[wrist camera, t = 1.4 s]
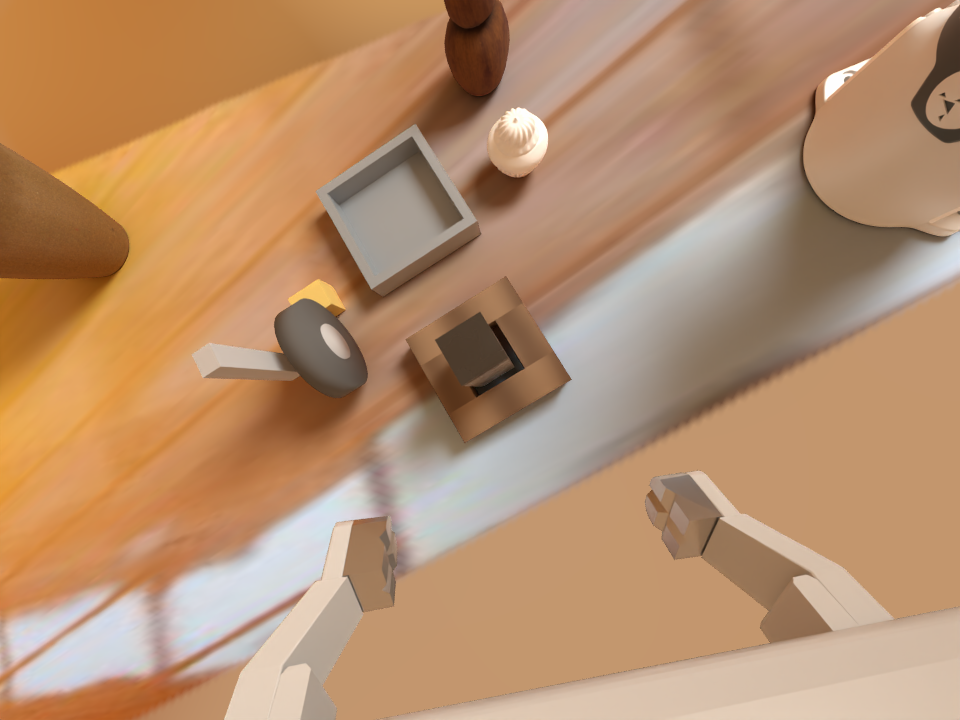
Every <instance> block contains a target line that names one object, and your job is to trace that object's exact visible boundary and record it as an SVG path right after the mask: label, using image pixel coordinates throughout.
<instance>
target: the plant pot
mask: <svg viewBox="0 0 960 720" xmlns="http://www.w3.org/2000/svg"><path fill="white" fill-rule="evenodd" d="M128 250H129V241H128V236H127V234H126V232H125V230H124V229H123V227H122V226H121V225H120V224H118V223H117V222H116V221H115V220H113V219H112V218H111V217H110V216H108V215H107V214H106V213H105V212H103V211H102V210H101V209H99V208H98V207H97V206H95V205H94V204H93V203H91V202H90V201H89V200H87V199H86V198H84V197H83V196H82V195H80V194H79V193H77V192H76V191H74V190H73V189H72V188H70V187H69V186H67V185H66V184H64V183H63V182H61V181H60V180H58V179H57V178H55V177H54V176H52V175H51V174H49V173H48V172H46V171H44V170H43V169H41V168H40V167H38V166H37V165H35V164H33V163H32V162H30V161H29V160H27V159H25V158H24V157H22V156H21V155H19V154H17V153H16V152H14V151H13V150H11V149H9V148H7V147H6V146H4V145H2V144H1V143H0V278H18V279H72V278H93V277H106V276H109V275H111V274H113V273H115V272H116V271H117V270H118V269H120V267H121V266H122V265H123V263H124V262H125V260H126V258H127V254H128Z"/></svg>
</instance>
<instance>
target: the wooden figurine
mask: <svg viewBox="0 0 960 720" xmlns="http://www.w3.org/2000/svg"><path fill="white" fill-rule="evenodd" d="M444 2H445V6H446V9H447V12H448V15H449V17H450V19H449V21H448V24H447V29H446V35H445V53H446V57H447V61H448V64H449V67H450V69H451V72H452V74H453V76H454V78H455V80H456V81H457V82H458V84H459V85H460V86H461V87H462V88H463V89H464V90H466V91H467V92H468V93H469V94H472V95H474V96H483V95H486V94H488V93H490V92H492V91H493V90H494V89H495V88H496V87H497V86H498V84H499V83H500V81H501V79H502V76H503V73H504V70H505V67H506V61H507V56H508V50H509V41H510V39H509V27H508V21H507V18H506V15H505V12H504V9H503V6H502V3H501V2H500V1H499V0H444Z"/></svg>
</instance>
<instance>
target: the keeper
mask: <svg viewBox="0 0 960 720" xmlns="http://www.w3.org/2000/svg"><path fill="white" fill-rule="evenodd" d="M479 312H481V314H482V315H483V317H484V318H485V320H486V322H487V323H488V325H489V326H490V328H491V329H493V328H494V327H496V326H497V325H498V326H499V328H500V330H501V331H502V333H503V334H504V336H505V338H506V339H507V341H508V343H509V344H510V346H511V347H512V349H513V351H514V352H515V354H516V356H517V357H518V359H519V360H520V362H521V364H522V365H523V367H524V369H523V370H521V371H520V372H518V373H516V374H515V375H513V376H511V377H510V378H508V379H506V380H505V381H503V382H501V383H500V384H498V385H496V386H495V387H493V388H491V389H490V390H488V391H486V392H485V393H483V394H481V395H480V396H479V395H478V393H477V391H476V390H475V388H474V386H461V384H460V383H459V381H458V379H457V377H456V376H455V374H454V372H453V371H452V369H451V367H450V365H449V364H448V362H447V360H446V359H445V357H444V355H443V353H442V352H441V350H440V348H439V347H438V345H437V343H436V341H435V339H437V338H439V337H440V336H442V335H443V334H445V333H447V332H448V331H450V330H451V329H453V328H455V327H456V326H458V325H459V324H461V323H463V322H464V321H466V320H467V319H469V318H471V317H472V316H474V315H475V314H477V313H479ZM406 341H407V343H408V345H409V346H410V348H411V350H412V352H413V353H414V355H415V357H416V359H417V360H418V362H419V364H420V366H421V367H422V369H423V371H424V373H425V374H426V376H427V378H428V380H429V381H430V383H431V385H432V387H433V388H434V390H435V392H436V394H437V395H438V397H439V399H440V401H441V402H442V404H443V406H444V408H445V410H446V411H447V413H448V415H449V417H450V418H451V420H452V422H453V424H454V425H455V427H456V429H457V431H458V432H459V434H460V436H461V438H462V439H463V441H464V443H466V442H467V441H469V440H471V439H472V438H474V437H476V436H477V435H479V434H481V433H482V432H484V431H486V430H487V429H489V428H491V427H492V426H494V425H496V424H498V423H499V422H501V421H503V420H504V419H506V418H508V417H509V416H511V415H513V414H514V413H516V412H518V411H519V410H521V409H523V408H524V407H526V406H528V405H530V404H531V403H533V402H535V401H536V400H538V399H540V398H541V397H543V396H545V395H546V394H548V393H550V392H551V391H553V390H555V389H556V388H558V387H560V386H561V385H563V384H565V383H567V382H568V381H570V380H572V379H571V378H570V376H569V375H568V373H567V372H566V370H565V368H564V367H563V365H562V364H561V362H560V360H559V359H558V357H557V356H556V354H555V353H554V351H553V349H552V348H551V346H550V345H549V343H548V342H547V340H546V338H545V337H544V335H543V334H542V332H541V330H540V329H539V327H538V326H537V324H536V323H535V321H534V319H533V318H532V316H531V315H530V313H529V312H528V310H527V308H526V307H525V305H524V304H523V302H522V300H521V299H520V297H519V296H518V294H517V293H516V291H515V289H514V288H513V286H512V285H511V283H510V281H509V280H508V278H507V277H504V278H503V279H501V280H499V281H498V282H496V283H495V284H493V285H491V286H490V287H488V288H487V289H485V290H483V291H482V292H480V293H479V294H477V295H475V296H474V297H472V298H471V299H469V300H468V301H466V302H464V303H463V304H461V305H460V306H458V307H456V308H455V309H453V310H452V311H450V312H448V313H447V314H445V315H444V316H442V317H440V318H439V319H437V320H436V321H434V322H432V323H431V324H429V325H428V326H426V327H425V328H423V329H421V330H420V331H418V332H417V333H415V334H413V335H412V336H410V337H409V338H407V339H406Z"/></svg>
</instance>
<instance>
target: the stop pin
mask: <svg viewBox="0 0 960 720" xmlns="http://www.w3.org/2000/svg"><path fill="white" fill-rule="evenodd" d="M435 341H436V343H437V345H438V347H439V348H440V350H441V352H442V353H443V355H444V357H445V359H446V360H447V362H448V364H449V365H450V367H451V369H452V371H453V372H454V374H455V376H456V377H457V379H458V381H459V383H460V384H461V386H475V387H483V386H485V385H486V384H488V383H490V382H491V381H493V380H495V379H496V378H498V377H500V376H501V375H503V374H505V373H506V372H508V371H510V370H511V369H513V368H515V367H514V365H513V364H512V362H511V360H510V359H509V357H508V355H507V354H506V352H505V351H504V349H503V347H502V346H501V344H500V342H499V341H498V339H497V337H496V336H495V334H494V333H493V331H492V329H491V328H490V326H489V325H488V323H487V322H486V320H485V318H484V317H483V315H482V314H481V312H479V313H477V314H475V315H474V316H472V317H471V318H469V319H467V320H466V321H464V322H463V323H461V324H459V325H458V326H456V327H455V328H453V329H451V330H450V331H448V332H447V333H445V334H443V335H442V336H440V337H439V338H437V339H435Z"/></svg>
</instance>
